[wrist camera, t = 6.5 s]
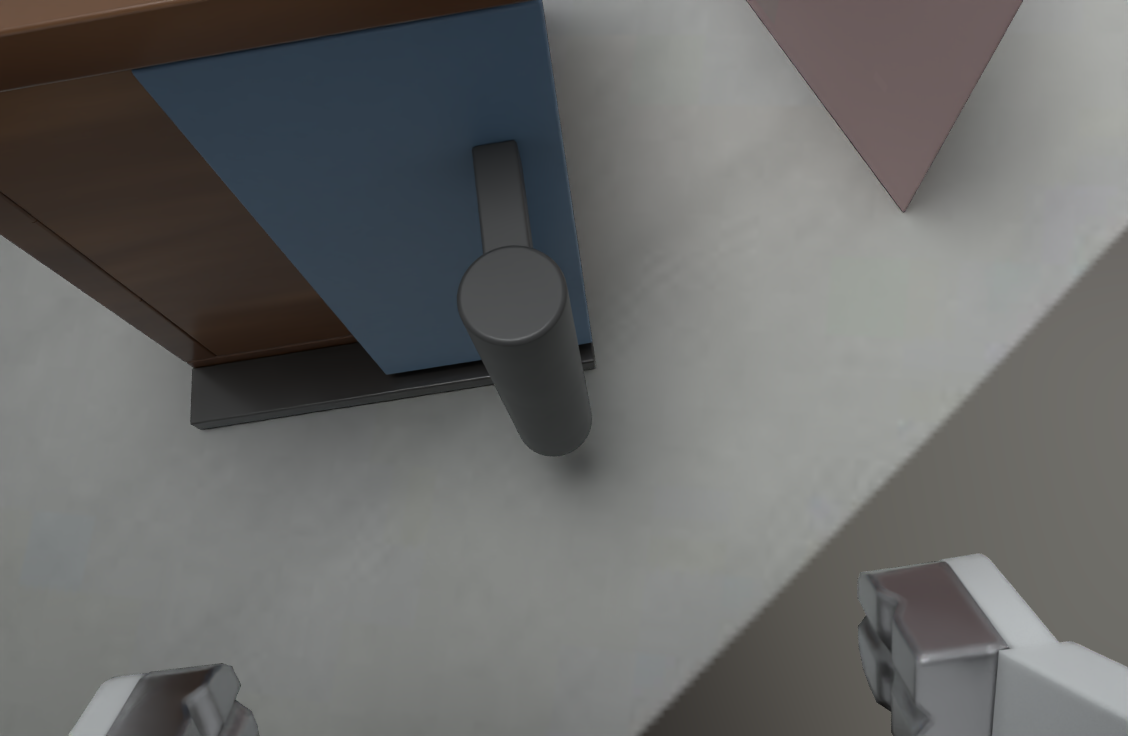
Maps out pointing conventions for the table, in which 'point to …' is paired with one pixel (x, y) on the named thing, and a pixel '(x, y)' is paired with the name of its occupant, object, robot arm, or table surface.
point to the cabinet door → (414, 194)
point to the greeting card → (891, 71)
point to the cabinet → (181, 200)
